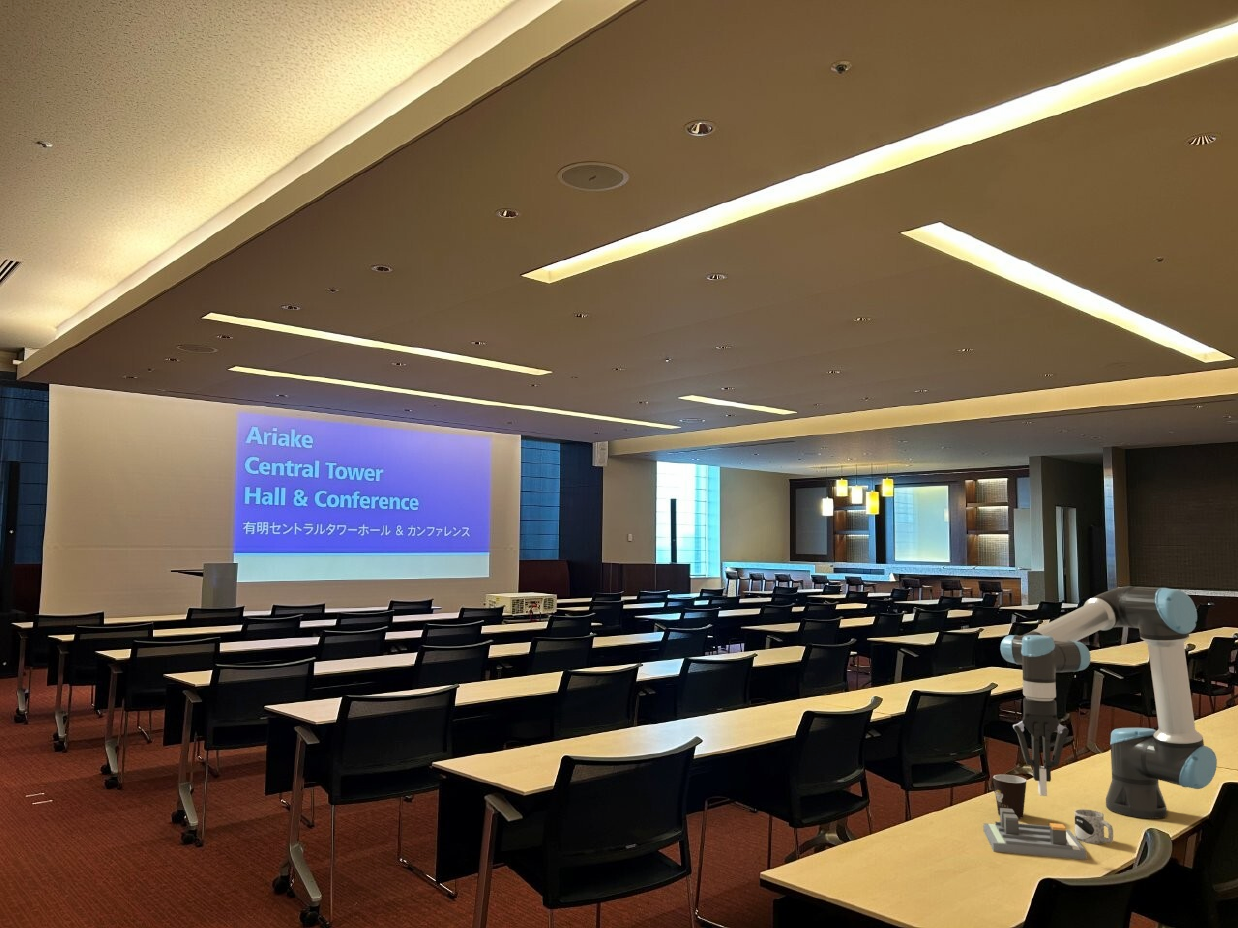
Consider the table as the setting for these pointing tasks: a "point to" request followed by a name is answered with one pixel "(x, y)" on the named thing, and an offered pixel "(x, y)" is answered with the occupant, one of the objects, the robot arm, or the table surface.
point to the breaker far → (1004, 811)
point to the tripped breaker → (1057, 834)
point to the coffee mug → (1010, 793)
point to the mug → (1091, 827)
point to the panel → (1032, 841)
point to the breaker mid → (1011, 824)
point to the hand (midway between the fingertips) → (1042, 794)
